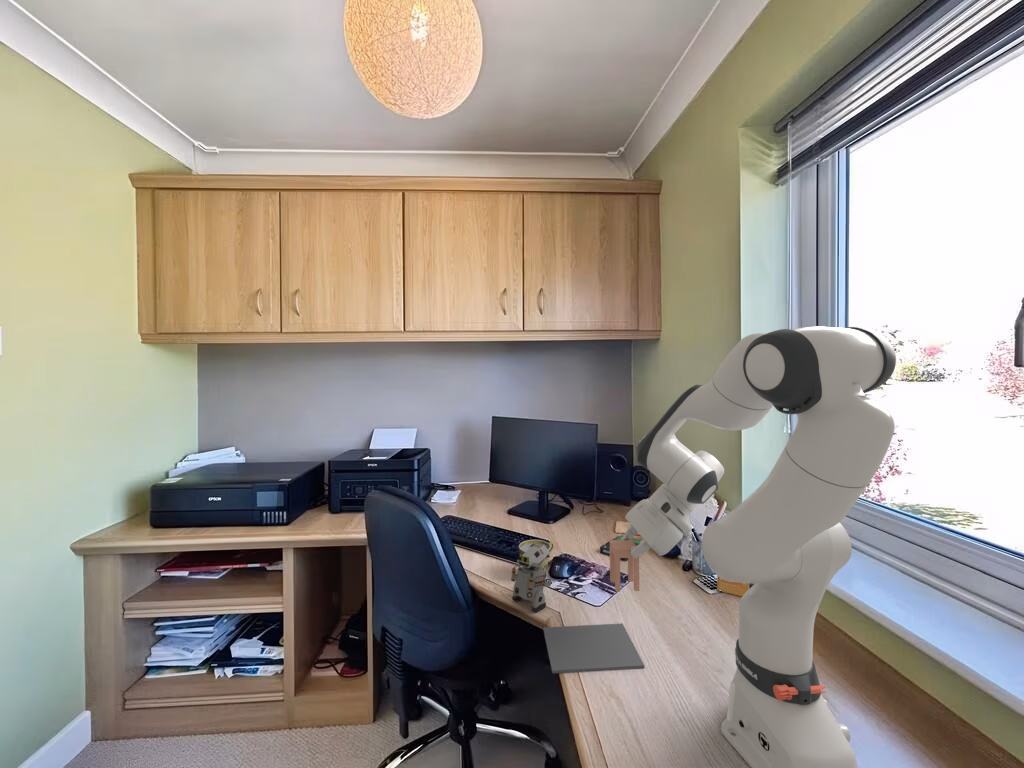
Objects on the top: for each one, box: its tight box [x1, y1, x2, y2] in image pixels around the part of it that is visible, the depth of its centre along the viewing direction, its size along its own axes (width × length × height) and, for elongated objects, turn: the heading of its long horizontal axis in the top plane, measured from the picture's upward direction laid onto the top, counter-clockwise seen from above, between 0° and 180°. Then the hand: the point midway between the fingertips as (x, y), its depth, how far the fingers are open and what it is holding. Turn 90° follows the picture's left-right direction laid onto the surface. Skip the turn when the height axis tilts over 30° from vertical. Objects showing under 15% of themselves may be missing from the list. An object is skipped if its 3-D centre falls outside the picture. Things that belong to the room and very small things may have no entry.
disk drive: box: [599, 534, 642, 562], centre depth 150 cm, size 10×3×15 cm
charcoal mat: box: [542, 623, 645, 674], centre depth 98 cm, size 15×20×1 cm
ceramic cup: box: [518, 539, 554, 574], centre depth 132 cm, size 13×10×10 cm
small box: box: [716, 575, 750, 597], centre depth 122 cm, size 8×6×13 cm
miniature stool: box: [609, 539, 640, 593], centre depth 102 cm, size 6×6×10 cm
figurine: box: [510, 543, 552, 614], centre depth 118 cm, size 9×12×15 cm
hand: (627, 549), depth 102 cm, fingers closed on miniature stool, 5 cm apart
